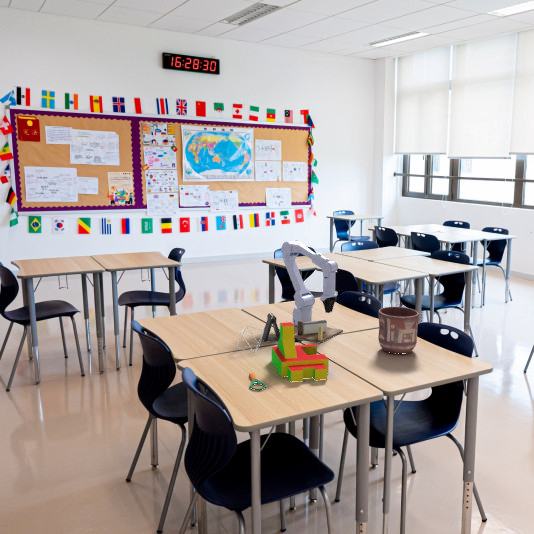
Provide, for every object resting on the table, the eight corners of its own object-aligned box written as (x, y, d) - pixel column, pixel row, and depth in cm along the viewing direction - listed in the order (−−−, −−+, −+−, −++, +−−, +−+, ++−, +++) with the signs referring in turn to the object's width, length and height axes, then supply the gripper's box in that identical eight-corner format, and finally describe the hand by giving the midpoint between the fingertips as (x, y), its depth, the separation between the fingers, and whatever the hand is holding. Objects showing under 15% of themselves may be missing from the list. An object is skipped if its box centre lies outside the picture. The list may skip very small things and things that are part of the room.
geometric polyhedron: (266, 352, 251) (266, 332, 249) (242, 354, 247) (242, 334, 246) (257, 343, 262) (257, 324, 261) (234, 346, 259) (234, 326, 258)
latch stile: (318, 340, 264) (318, 326, 263) (319, 339, 265) (319, 326, 264) (321, 340, 263) (321, 327, 262) (322, 340, 264) (322, 326, 263)
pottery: (368, 350, 253) (370, 311, 249) (390, 341, 265) (392, 304, 261) (403, 360, 240) (405, 319, 237) (424, 350, 253) (427, 311, 249)
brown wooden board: (293, 337, 271) (293, 322, 270) (316, 327, 289) (316, 312, 288) (320, 343, 263) (321, 327, 261) (342, 331, 281) (343, 317, 279)
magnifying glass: (267, 391, 208) (267, 386, 208) (251, 392, 207) (251, 388, 207) (258, 376, 223) (258, 372, 222) (243, 377, 221) (243, 373, 221)
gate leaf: (304, 334, 272) (304, 323, 271) (302, 333, 274) (302, 322, 273) (326, 331, 276) (326, 320, 275) (324, 330, 278) (325, 320, 277)
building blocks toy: (284, 384, 215) (285, 337, 211) (271, 361, 239) (271, 319, 236) (332, 380, 218) (333, 334, 215) (314, 359, 242) (315, 317, 239)
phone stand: (279, 336, 273) (279, 312, 270) (282, 340, 267) (282, 315, 265) (261, 338, 271) (261, 313, 269) (263, 341, 265) (263, 316, 263)
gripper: (329, 288, 271) (328, 316, 273) (343, 283, 282) (342, 310, 285) (316, 287, 275) (316, 314, 277) (330, 282, 286) (330, 308, 289)
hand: (328, 312), depth 281 cm, fingers closed
